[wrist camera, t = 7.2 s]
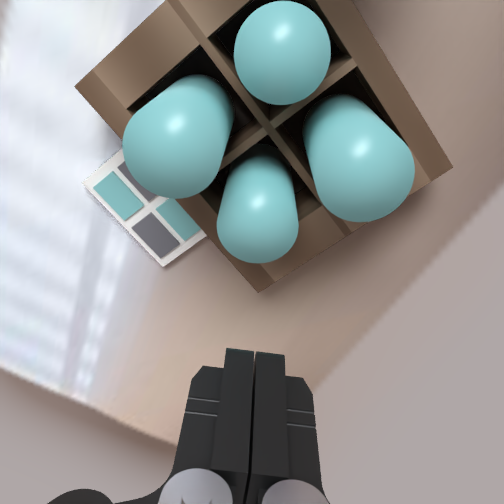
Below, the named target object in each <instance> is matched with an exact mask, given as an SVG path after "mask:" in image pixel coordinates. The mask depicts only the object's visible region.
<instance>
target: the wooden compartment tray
mask: <svg viewBox="0 0 504 504" xmlns="http://www.w3.org/2000/svg"><path fill="white" fill-rule="evenodd" d="M252 1H254V0H165V1H164V2H163V3H162V4H161V5H160V6H159V7H158V8H157V9H156V10H155V11H154V12H153V13H152V14H151V15H150V16H148V17H147V18H146V19H145V20H144V21H143V22H142V23H141V24H140V25H139V26H138V27H137V28H136V29H135V30H134V31H133V32H132V33H130V34H129V35H128V36H127V37H126V38H125V39H124V40H123V41H122V42H121V43H120V44H119V45H118V46H117V47H116V48H115V49H113V50H112V51H111V52H110V53H109V54H108V55H107V56H106V57H105V58H104V59H103V60H102V61H101V62H100V63H99V64H98V65H97V66H95V67H94V68H93V69H92V70H91V71H90V72H89V73H88V74H87V75H86V76H85V77H84V78H83V79H82V80H81V81H80V82H79V83H77V84H76V85H75V86H74V87H75V88H76V89H77V90H78V91H79V92H80V93H81V95H82V96H83V97H84V98H85V99H86V100H87V101H88V102H89V104H90V105H91V106H92V107H93V108H94V109H95V110H96V111H97V113H98V114H99V115H100V116H101V117H102V118H103V119H104V120H105V122H106V123H107V124H108V125H109V126H110V127H111V128H112V129H113V131H114V132H115V133H116V134H117V135H118V136H119V137H120V138H121V139H122V141H123V135H124V131H125V128H126V126H127V124H128V122H129V121H130V119H131V118H132V116H133V115H134V114H135V113H136V112H137V111H139V110H140V109H141V108H142V107H144V106H145V105H146V104H147V103H149V102H150V100H149V99H148V98H147V97H146V94H148V93H149V92H150V91H151V90H152V89H153V88H154V87H156V86H157V85H158V84H159V83H160V82H161V81H162V80H164V79H165V78H166V77H167V76H168V75H169V74H170V73H172V72H173V71H174V70H175V69H176V68H177V67H178V66H179V65H181V64H182V63H183V62H184V61H185V60H186V59H187V58H189V57H190V56H191V55H192V54H193V53H194V52H195V51H197V50H198V49H199V48H200V47H201V46H202V47H203V49H204V50H205V51H206V53H207V54H208V55H209V57H210V58H211V59H212V61H213V62H214V63H215V65H216V66H217V67H218V69H219V70H220V71H221V73H222V74H223V75H224V76H225V78H226V79H227V80H228V82H229V83H230V84H231V86H232V87H233V88H234V90H235V91H236V92H237V94H238V95H239V96H240V98H241V99H242V100H243V102H244V103H245V104H246V106H247V107H248V108H249V110H250V111H251V112H252V114H253V115H254V116H255V117H256V118H254V119H253V120H252V121H250V122H249V123H248V124H247V125H245V126H244V127H243V128H242V129H240V130H239V131H238V132H236V133H235V134H234V135H233V136H231V137H230V138H229V139H228V142H227V145H226V148H225V151H224V155H223V158H222V161H221V164H220V168H219V171H220V170H221V169H223V168H224V167H225V166H227V165H228V164H229V163H230V162H232V161H233V160H234V159H236V158H237V157H238V156H240V155H241V154H242V153H244V152H245V151H246V150H247V149H249V148H250V147H251V146H253V145H254V144H255V143H257V142H258V141H259V140H261V139H262V138H263V137H265V136H266V135H267V134H268V135H269V136H270V137H271V139H272V140H273V141H274V143H275V144H276V145H277V147H278V148H279V149H280V151H281V152H282V153H283V155H284V156H285V157H286V159H287V160H288V161H289V162H290V164H291V165H292V166H293V168H294V169H295V170H296V172H297V173H298V174H299V176H300V177H301V178H302V180H303V181H304V182H305V184H306V185H307V187H305V188H304V189H303V190H301V191H300V192H298V193H297V194H295V202H296V209H297V216H298V224H299V229H298V235H297V238H296V240H295V243H294V244H293V246H292V247H291V248H290V250H289V251H288V252H287V253H286V254H284V255H283V256H282V257H280V258H278V259H276V260H274V261H271V262H267V263H249V262H245V261H242V260H240V259H238V258H236V257H234V256H233V255H231V254H230V253H229V252H228V251H227V250H226V249H225V248H224V246H223V245H222V243H221V241H220V239H219V237H218V233H217V218H218V214H219V210H220V206H221V202H222V197H223V193H224V189H223V187H222V186H221V185H220V184H219V183H218V181H217V180H216V179H215V178H214V180H213V181H212V182H211V184H210V185H209V186H208V187H207V188H205V189H204V190H203V191H201V192H200V193H198V194H196V195H193V196H190V197H187V198H179V199H175V200H176V201H177V202H178V203H179V205H180V206H181V207H182V208H183V209H184V210H185V211H186V212H187V214H188V215H189V216H190V217H191V218H192V219H193V220H194V221H195V223H196V224H197V225H198V226H199V227H200V228H201V229H202V230H203V231H204V233H205V234H206V235H207V236H208V237H209V238H210V239H211V240H212V242H213V243H214V244H215V245H216V246H217V247H218V248H219V249H220V251H221V252H222V253H223V254H224V255H225V256H226V257H227V258H228V260H229V261H230V262H231V263H232V264H233V265H234V266H235V267H236V269H237V270H238V271H239V272H240V273H241V274H242V275H243V276H244V277H245V279H246V280H247V281H248V282H249V283H250V284H251V285H252V286H253V288H254V289H255V290H256V291H257V292H258V293H259V292H261V291H262V290H264V289H265V288H267V287H268V286H270V285H271V284H273V283H275V282H276V281H278V280H279V279H281V278H282V277H284V276H285V275H287V274H289V273H290V272H292V271H293V270H295V269H296V268H298V267H299V266H301V265H303V264H304V263H306V262H307V261H309V260H310V259H312V258H313V257H315V256H317V255H318V254H320V253H321V252H323V251H324V250H326V249H327V248H329V247H330V246H332V245H334V244H335V243H337V242H338V241H340V240H341V239H343V238H344V237H346V236H348V235H349V234H351V233H352V232H354V231H355V230H357V229H358V228H360V227H362V226H363V225H365V224H366V223H368V222H352V221H347V220H344V219H341V218H339V217H337V216H336V215H334V214H332V213H331V212H330V211H329V210H328V209H327V208H326V207H325V206H324V205H323V203H322V202H321V200H320V198H319V196H318V193H317V190H316V186H315V182H314V179H313V175H312V171H311V167H310V164H309V160H308V158H307V157H306V156H305V154H304V153H303V152H302V150H301V149H300V148H299V146H298V145H297V143H296V142H295V141H294V139H293V138H292V137H291V135H290V134H289V133H288V131H287V130H286V129H285V127H284V126H283V124H282V123H283V122H284V121H285V120H287V119H288V118H289V117H291V116H292V115H293V114H295V113H296V112H297V111H299V110H300V109H301V108H302V107H304V106H305V105H306V104H308V103H309V102H310V101H312V100H313V99H314V98H316V97H317V96H318V95H320V94H321V93H322V92H323V91H325V90H326V89H327V88H329V87H330V86H331V85H333V84H334V83H335V82H337V81H338V80H339V79H340V78H342V77H343V76H344V75H346V74H347V73H348V72H350V71H351V70H353V71H354V73H355V75H356V76H357V78H358V79H359V81H360V82H361V84H362V85H363V87H364V89H365V90H366V92H367V93H368V95H369V96H370V98H371V99H372V101H373V103H374V104H375V106H376V107H377V109H378V110H379V112H380V113H381V115H382V117H383V118H384V120H385V121H386V123H387V124H388V126H389V127H390V129H391V130H392V131H393V132H394V133H395V134H396V135H397V136H398V137H399V138H400V139H402V140H403V141H404V142H405V144H406V145H407V146H408V148H409V150H410V152H411V154H412V157H413V160H414V166H415V174H414V181H413V184H412V187H411V190H410V192H409V194H408V195H407V197H408V196H410V195H411V194H413V193H414V192H416V191H417V190H419V189H421V188H422V187H424V186H425V185H427V184H428V183H430V182H431V181H433V180H434V179H436V178H438V177H439V176H441V175H442V174H444V173H445V172H447V171H448V170H450V169H452V168H453V166H452V164H451V163H450V161H449V159H448V158H447V156H446V154H445V153H444V151H443V150H442V148H441V146H440V145H439V143H438V141H437V140H436V138H435V136H434V135H433V133H432V131H431V130H430V128H429V127H428V125H427V123H426V122H425V120H424V118H423V117H422V115H421V113H420V112H419V110H418V108H417V107H416V105H415V104H414V102H413V100H412V99H411V97H410V95H409V94H408V92H407V90H406V89H405V87H404V85H403V84H402V82H401V80H400V79H399V77H398V76H397V74H396V72H395V71H394V69H393V67H392V66H391V64H390V62H389V61H388V59H387V57H386V56H385V54H384V53H383V51H382V49H381V48H380V46H379V44H378V43H377V41H376V39H375V38H374V36H373V34H372V33H371V31H370V30H369V28H368V26H367V25H366V23H365V21H364V20H363V18H362V16H361V15H360V13H359V11H358V10H357V8H356V7H355V5H354V3H353V2H352V0H308V2H309V3H310V5H311V6H312V8H313V9H314V11H315V12H316V14H317V16H318V17H319V19H320V20H321V21H322V23H323V24H324V26H325V28H326V30H327V31H328V33H329V34H330V36H331V37H332V39H333V40H334V42H335V44H336V45H337V47H338V48H339V50H340V52H338V53H337V54H336V55H335V56H333V57H332V58H331V59H330V63H329V67H328V70H327V73H326V75H325V77H324V79H323V81H322V82H321V84H320V85H319V86H318V88H317V89H316V90H315V91H314V92H313V93H312V94H310V95H309V96H308V97H306V98H305V99H303V100H301V101H298V102H296V103H292V104H288V105H275V104H272V105H271V106H270V107H269V105H268V104H267V103H266V102H264V101H262V100H260V99H258V98H256V97H255V96H253V95H252V94H251V93H250V92H249V91H248V90H247V89H246V88H245V86H244V85H243V83H242V82H241V80H240V78H239V76H238V74H237V71H236V67H235V62H234V58H233V57H232V55H231V54H230V53H229V51H228V50H227V48H226V47H225V46H224V44H223V43H222V42H221V40H220V39H219V38H218V36H217V35H216V33H217V32H218V31H219V30H220V29H222V28H223V27H224V26H225V25H226V24H227V23H228V22H230V21H231V20H232V19H233V18H234V17H235V16H236V15H238V14H239V13H240V12H241V11H242V10H243V9H244V8H246V7H247V6H248V5H249V4H250V3H251V2H252ZM219 171H218V172H219ZM407 197H406V198H407Z"/></svg>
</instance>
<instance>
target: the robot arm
mask: <svg viewBox="0 0 504 504" xmlns="http://www.w3.org/2000/svg"><path fill="white" fill-rule="evenodd" d="M315 427H316V423H315V415H314V404H313V394H312V392H311V391H310V389H309V387H308V386H307V384H306V382H305V381H304V379H303V378H300V377H291V376H285V356H284V355H281V354H273V353H265V352H257V351H256V354H255V360H254V351H248V350H240V349H231V348H226V355H225V362H224V368H217V367H209V366H203V367H202V368H201V369H200V370H199V371H198V373H197V374H196V375H195V376H194V377H193V378H192V381H191V385H190V390H189V395H188V400H187V404H186V409H185V414H184V418H183V423H182V428H181V432H180V437H179V442H178V446H177V451H176V456H175V461H174V465H173V469H172V472H171V474H170V476H169V477H168V479H167V480H166V482H165V483H164V484H163V485H162V486H161V487H160V488H158V489H157V490H156V491H155V492H153V493H151V494H149V495H147V496H145V497H143V498H138V499H135V500H130V501H125V502H120V503H115V504H330V503H329V502H328V500H327V498H326V496H325V494H324V491H323V488H322V482H321V472H320V462H319V453H318V443H317V433H316V429H315ZM48 504H113V503H112V502H111V500H110V499H109V498H108V497H107V496H105V495H104V494H103V493H101V492H98V491H96V490H91V489H78V490H73V491H69V492H66V493H64V494H62V495H60V496H58V497H57V498H55V499H54V500H52V501H51V502H49V503H48Z"/></svg>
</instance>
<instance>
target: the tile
mask: <svg viewBox="0 0 504 504" xmlns="http://www.w3.org/2000/svg"><path fill="white" fill-rule="evenodd" d="M82 184H83V185H84V186H85V187H86V188H87V189H88V190H89V191H90V192H91V193H92V194H93V195H94V196H95V197H96V198H97V199H98V200H99V201H100V202H101V203H102V205H103V206H104V207H105V208H106V209H107V210H108V211H109V212H110V213H111V214H112V215H113V216H114V217H115V218H116V219H117V220H118V221H119V222H120V223H121V224H122V225H123V226H124V227H125V228H126V229H127V230H128V231H129V232H130V234H131V235H132V236H133V237H134V238H135V239H136V240H137V241H138V242H139V243H140V244H141V245H142V246H143V247H144V248H145V249H146V250H147V251H148V252H149V253H150V254H151V255H152V256H153V257H154V258H155V259H156V260H157V262H158V263H159V264H160V265H161V266H162V267H164V266H165V265H167V264H168V263H169V262H171V261H172V260H174V259H175V258H176V257H178V256H179V255H181V254H182V253H183V252H185V251H186V250H187V249H189V248H190V247H192V246H193V245H194V244H196V243H197V242H199V241H200V240H201V239H203V238H204V237H206V236H207V235H206V234H205V233H204V231H203V230H202V229H201V228H200V227H199V226H198V225H197V224H196V223H195V221H194V220H193V219H192V218H191V217H190V216H189V215H188V214H187V212H186V211H185V210H184V209H183V208H182V207H181V206H180V205H179V203H178V202H177V201H176V200H175V199H173V198H166V197H162V196H159V195H156V194H154V193H152V192H150V191H148V190H147V189H145V188H144V187H143V186H141V185H140V184H139V183H138V182H137V181H136V180H135V178H134V177H133V176H132V174H131V173H130V171H129V170H128V167H127V165H126V163H125V160H124V156H123V149H121V150H119V151H118V152H117V153H116V154H115V155H114V156H112V157H111V158H110V159H109V160H108V161H106V162H105V163H104V164H103V165H102V166H101V167H99V168H98V169H97V170H96V171H95V172H94V173H92V174H91V175H90V176H89V177H88V178H86V179H85V180H84V181H83V182H82Z"/></svg>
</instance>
